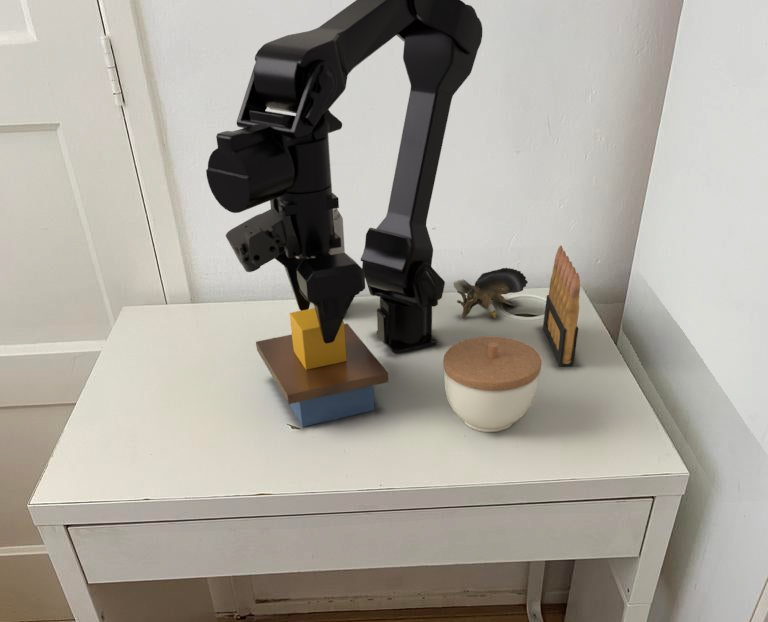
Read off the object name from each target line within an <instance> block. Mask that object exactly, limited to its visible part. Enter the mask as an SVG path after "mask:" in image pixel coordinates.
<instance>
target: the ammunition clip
mask: <svg viewBox="0 0 768 622" xmlns="http://www.w3.org/2000/svg"><path fill="white" fill-rule="evenodd" d="M580 292H581V279H580V274H579V272H577V271H576V267H575V266H574V265H573V263H572V261H571V260H570V258H569V256H568V255H567V253H566V251H565V250H564V247H563V246H562V245H559V247H558V248H557V251H556V253H555V256H554V263H553V266H552V273H551V275H550V282H549V289H548V294H547V295H546V300H545V307H544V308H545V309H544V316H543V324H542V332H543V333H544V336H545V338H546V341H547V342H548V345H549V347H550V349H551V352H552V354H553V356H554V358H555V360H556V362H557V365H558V367H567V366H569V367H570V366H574V364H575V359H576V358H575V357H576V352H577V351H576V349H577V343H578V342H577V341H578V334H579V327H578V320H579V312H580Z"/></svg>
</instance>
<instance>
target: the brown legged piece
mask: <svg viewBox="0 0 768 622" xmlns="http://www.w3.org/2000/svg"><path fill="white" fill-rule="evenodd" d="M528 283H529V281H528V280H527V277H526V275H524V273H522V271H521V270H517V269H514V268H511V267H509V268H508V267H502V268H499V269H495V270H490V271H488V272H487V271H486V272H483V273H482V274H480V276H479V277H478V278H477V279H476V281H475V282H474V285H473V284H470V283H469V282H468V281H467V280H466V279H462V278H461V279H457V280H454V281H453V287H454V289H455V290H456V293H457V294H459V295H460V296H461V298H462V300H459V299H458V300H456V303H457V304H460V305H461V306H462V307H463V309H462V315H461V316H462V318H466V317H467V316H468V314H470V313H471V311H472V309H473V308H474V307H475V306H476V305H479V306H480V307H482V308H483V309H485V310H486V311H488V313H489V314H491V315H492V318H493V319H496V317H497V310H496V308H495V306H494V304H493V302H498V303H503V304H506V305H509V306H511V307H514V306H515V302H512V300H508V299H506V298H505V297H504V296H503V295H508V294H517V293H520V292H522V291H524V288H525V287H527V284H528ZM492 301H493V302H492Z"/></svg>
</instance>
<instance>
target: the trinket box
mask: <svg viewBox="0 0 768 622" xmlns="http://www.w3.org/2000/svg"><path fill="white" fill-rule="evenodd" d="M442 363H443V370H444V371H443V378H444V380H443V381H444V388H445V390H444V391H445V395H446V398H447V401H448V403H449V406H450V408H451V409H452V411H453V412H454V414H455V415H456V416H457V417H458V418H460V419H461V420H462V422H463V423H464V425H465V426H467V427H469V428H470V429H472V430H475V431H479V432H483V433H497V432H501V431H502V432H503V431H505V430H507V429H509V428H510V427H512V426H513V425H514V423H516V422H517V421H518V420H520V419H521V418H522V417H524V415H525V414H526V413H527V411H528V410H529V409H530V407H531V405H532V404H533V401H534V399H535V395H536V392H537V390H538V385H539V379H540V373H541V370H542V358H541V356H540V354H539V353H538V351H537V350H536V349H535V348H534V347H533V346H531V345H529V344H527V343H525V342H522V341H520V340H518V339H514V338H509V337H502V336H478V337H470V338H467V339H464V340H461V341H458V342H456V343H455V344H453V345H451V346H450V347H449V348H448V349H447V350H446V351H445V353H444V355H443V362H442Z"/></svg>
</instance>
